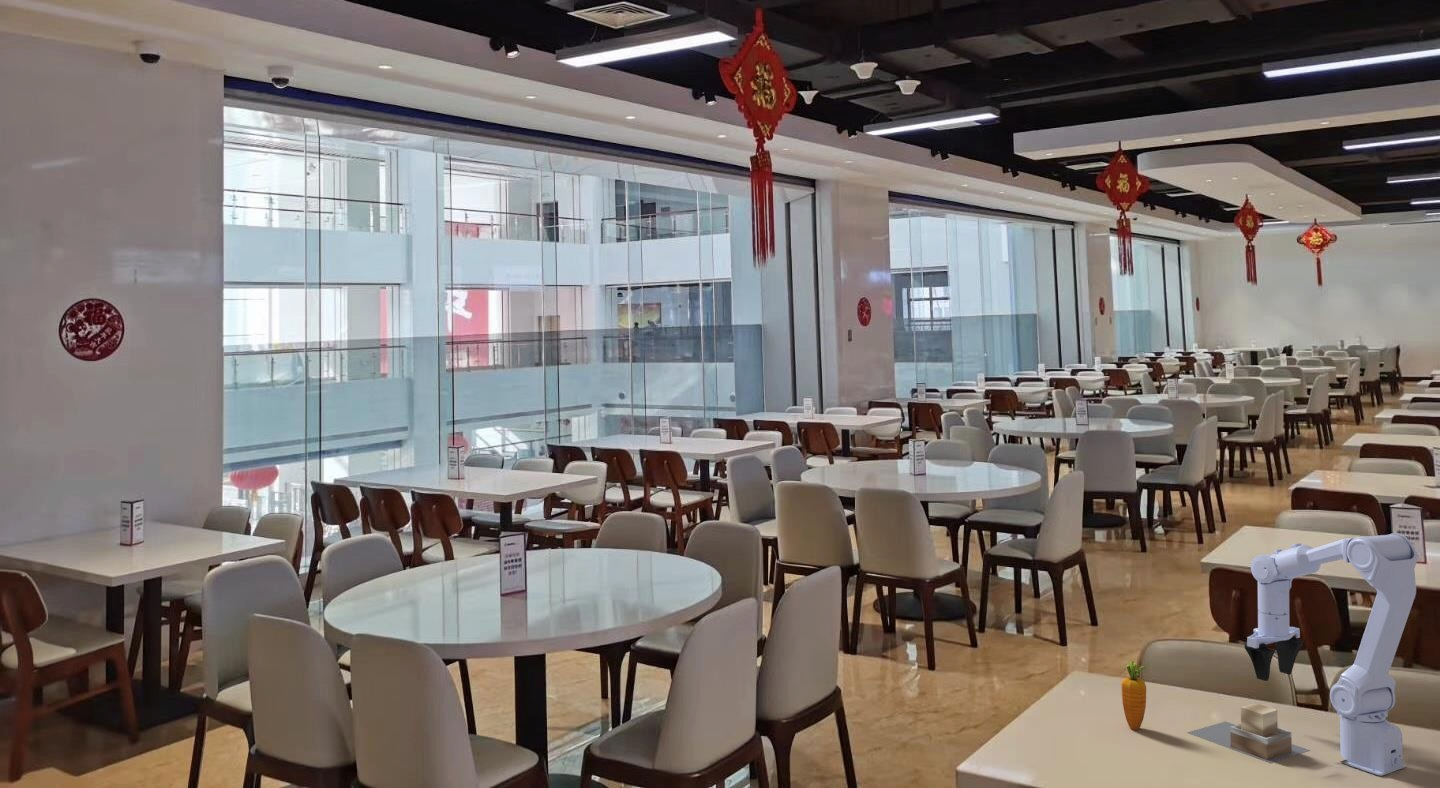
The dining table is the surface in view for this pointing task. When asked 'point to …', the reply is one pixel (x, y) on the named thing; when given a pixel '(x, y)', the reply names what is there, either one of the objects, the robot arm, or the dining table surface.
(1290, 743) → the walnut plinth
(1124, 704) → the carrot
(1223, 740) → the board
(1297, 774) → the dining table surface
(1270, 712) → the maple block
